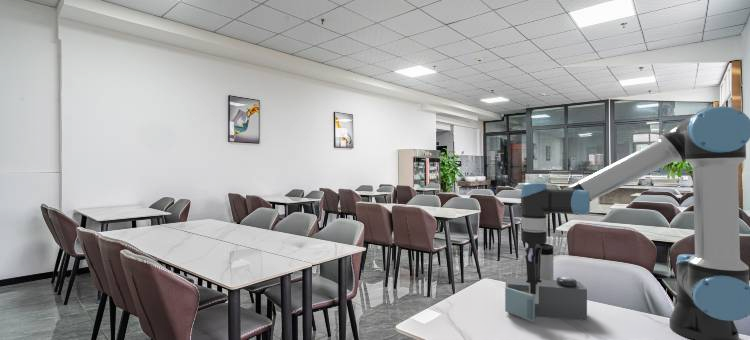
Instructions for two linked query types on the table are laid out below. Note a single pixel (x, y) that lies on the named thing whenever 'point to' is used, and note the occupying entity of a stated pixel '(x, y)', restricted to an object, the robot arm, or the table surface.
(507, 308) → the side door
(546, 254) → the travel mug
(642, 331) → the table surface
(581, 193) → the robot arm
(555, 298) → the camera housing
